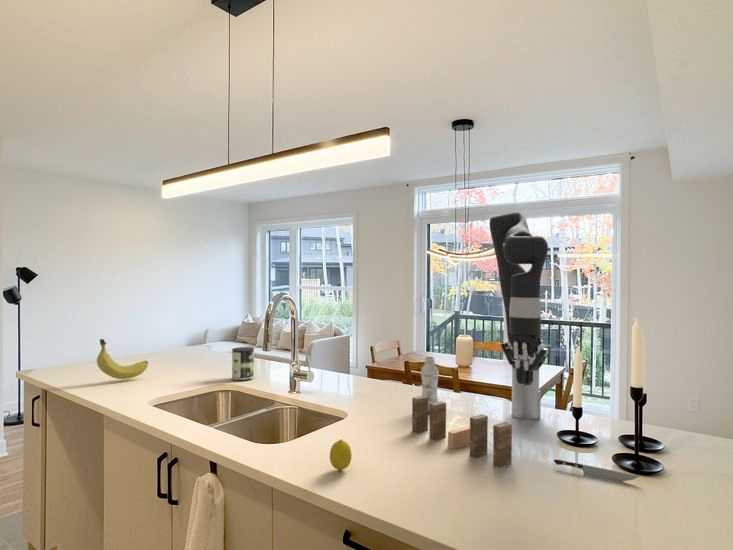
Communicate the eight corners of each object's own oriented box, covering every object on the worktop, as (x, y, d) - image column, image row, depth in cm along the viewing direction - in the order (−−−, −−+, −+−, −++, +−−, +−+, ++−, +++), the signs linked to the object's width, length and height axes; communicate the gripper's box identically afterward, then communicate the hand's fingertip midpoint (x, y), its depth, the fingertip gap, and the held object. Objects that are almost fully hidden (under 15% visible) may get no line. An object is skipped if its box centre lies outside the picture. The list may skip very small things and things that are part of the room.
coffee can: (256, 375, 224) (256, 347, 224) (250, 380, 213) (250, 350, 213) (235, 375, 224) (235, 346, 224) (228, 379, 213) (229, 350, 213)
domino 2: (445, 438, 138) (446, 402, 138) (434, 441, 135) (434, 405, 135) (441, 436, 140) (441, 401, 140) (429, 439, 137) (429, 403, 137)
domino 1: (427, 430, 145) (428, 396, 145) (416, 434, 142) (416, 399, 142) (423, 429, 146) (423, 395, 146) (412, 432, 144) (412, 397, 144)
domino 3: (453, 450, 129) (478, 442, 135) (453, 433, 129) (478, 426, 135) (447, 448, 130) (473, 440, 137) (448, 431, 130) (473, 424, 137)
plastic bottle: (438, 415, 161) (439, 359, 161) (419, 413, 163) (420, 358, 163) (439, 410, 168) (439, 356, 168) (421, 408, 169) (421, 355, 169)
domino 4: (487, 455, 125) (487, 416, 125) (475, 459, 122) (475, 419, 122) (481, 453, 127) (482, 414, 127) (469, 457, 124) (470, 417, 124)
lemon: (343, 477, 111) (343, 445, 111) (325, 472, 113) (325, 440, 113) (355, 469, 115) (355, 438, 115) (338, 464, 118) (338, 434, 118)
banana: (145, 374, 224) (145, 334, 224) (150, 375, 220) (150, 335, 220) (94, 382, 207) (95, 338, 207) (99, 384, 203) (100, 339, 203)
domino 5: (511, 465, 119) (511, 423, 119) (499, 469, 116) (499, 427, 116) (505, 462, 120) (505, 421, 120) (493, 467, 118) (493, 425, 118)
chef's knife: (640, 488, 106) (640, 475, 106) (640, 490, 106) (640, 477, 106) (554, 469, 116) (554, 458, 116) (553, 471, 115) (553, 459, 115)
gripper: (558, 316, 110) (557, 387, 110) (511, 312, 121) (511, 377, 121) (540, 318, 105) (539, 392, 105) (493, 313, 116) (492, 380, 116)
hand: (524, 383), depth 113 cm, fingers closed
